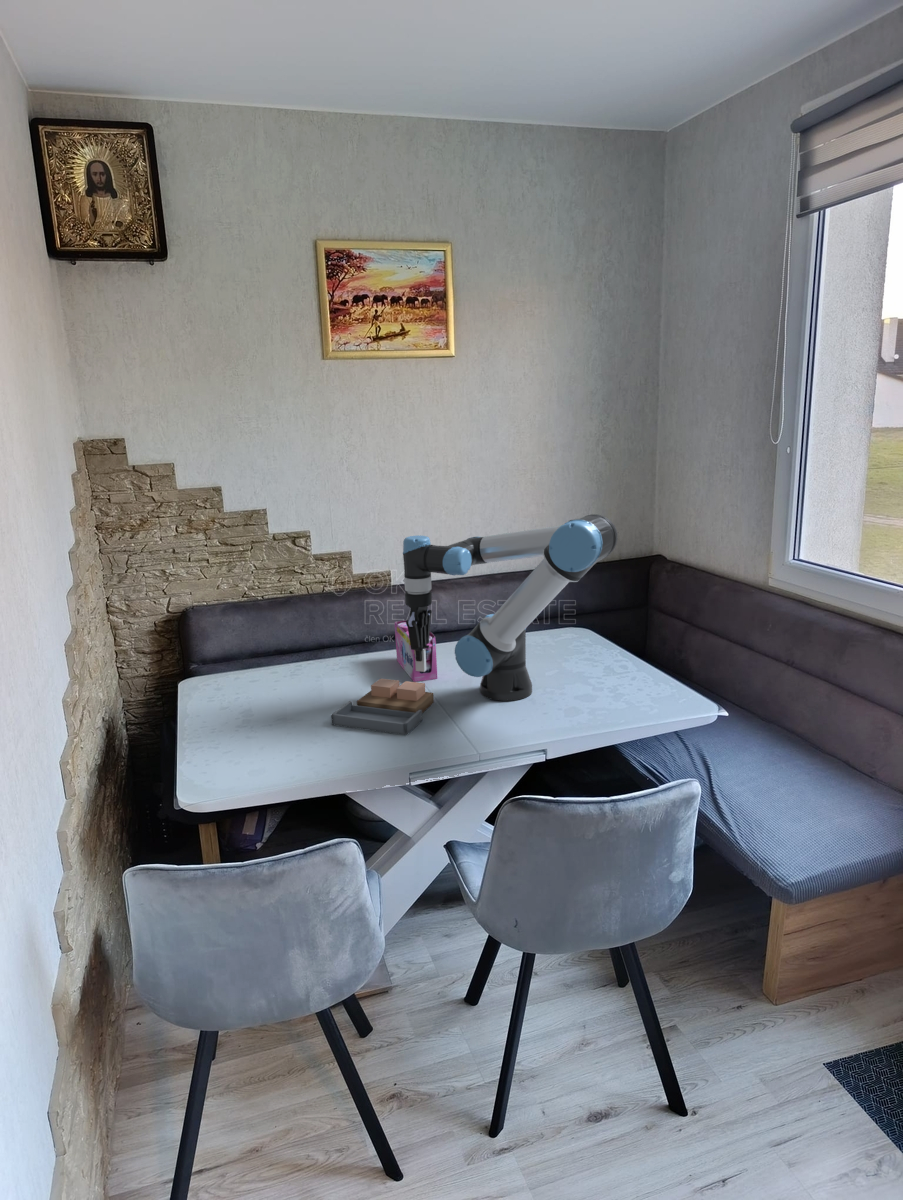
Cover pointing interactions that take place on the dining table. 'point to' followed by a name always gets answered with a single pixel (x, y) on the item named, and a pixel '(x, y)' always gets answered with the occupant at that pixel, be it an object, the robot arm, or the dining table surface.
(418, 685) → the tile
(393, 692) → the tile
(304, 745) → the dining table surface
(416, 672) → the gum box
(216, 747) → the dining table surface
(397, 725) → the tray
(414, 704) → the brown wooden board
